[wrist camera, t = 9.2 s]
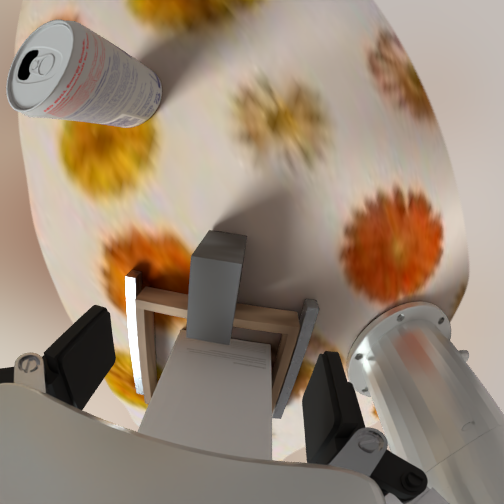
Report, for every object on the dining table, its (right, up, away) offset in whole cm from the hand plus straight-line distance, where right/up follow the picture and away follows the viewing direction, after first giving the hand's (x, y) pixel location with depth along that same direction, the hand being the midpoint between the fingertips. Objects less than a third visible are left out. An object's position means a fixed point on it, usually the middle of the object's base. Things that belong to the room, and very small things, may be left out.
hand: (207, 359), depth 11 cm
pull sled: (-2, -3, +14) cm, 14 cm away
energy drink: (-8, +17, +8) cm, 20 cm away
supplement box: (-1, -7, +16) cm, 18 cm away
